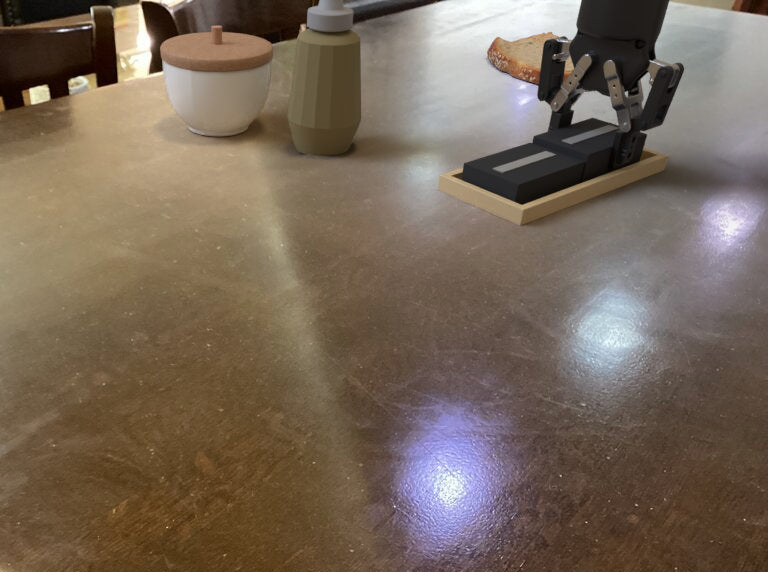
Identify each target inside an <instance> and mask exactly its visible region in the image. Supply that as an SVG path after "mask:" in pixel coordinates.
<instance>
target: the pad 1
mask: <svg viewBox="0 0 768 572" xmlns="http://www.w3.org/2000/svg"><path fill="white" fill-rule="evenodd" d="M584 164H585V161H582V160H579V159H576V158H573V157H570V156H568V155H565V154H562V153H559V152H556V151H553V150H550V149H547V148H545V147H542V146H539V145H536V144H533V143H532V142H527V143H525V144H524V143H523V144H521V145H518V146H515V147H512V148H507V149H505V150H502V151H501V150H500V151H499V152H495V153H492V154H488V155H485V156H482V157H479V158H476V159H473V160H470V161H466V162H463V167H462V168H463V172H462V178H461V180H462V181H465V182H467V183H470V184H472V185H475V186H477V187H479V188H482V189H484V190H487V191H489V192H492V193H494V194H496V195H499V196H501V197H504V198H506V199H509V200H511V201H513V202H516V203H518V204H521V205H523V204H526V203H529V202H532V201H534V200H537V199H540V198H542V197H545V196H548V195H551V194H553V193H556V192H559V191H561V190H564V189H567V188H569V187H572V186H575V185H578V184H579V183H580V179H581V175H582V171H583V168H584Z"/></svg>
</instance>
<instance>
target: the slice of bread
mask: <svg viewBox="0 0 768 572" xmlns="http://www.w3.org/2000/svg"><path fill="white" fill-rule="evenodd" d="M556 37H560V36H559V35H557V34H553V32H552V31H548V32H547V33H546V32H542V33H539V34H533V35H530V36H528V37H521V38H520V39H517V40H516V39H515V40H513V41H510V40H506V39H504V38H502V37H500V36H496V38H494V40H493V41H492V42H491V43H490V45H489V47H488V49H487V52H486V54H487V58H488V61H489V62H490V63H491V65H492V66H494V67H495V68H496V69H497V70H498V71H501V72H503V73H507V74H508V75H510V76H511V77H513V78H516V79H518V80H521V81H524V82H529V83H532V84H535V85H539V77H540V69H541V62H542V54H543V46H544V43H545V41H546V40H549V39H552V38H556ZM573 70H574V66H573V63H572V60H571V57H570V56H569V58H568V59H567V60H566V64H565V71H564V78H563V83H564V81H565V80H566V79H567V77H568V76H569V75H570V73H571V72H572V71H573Z"/></svg>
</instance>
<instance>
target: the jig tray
mask: <svg viewBox="0 0 768 572" xmlns="http://www.w3.org/2000/svg"><path fill="white" fill-rule="evenodd" d="M669 156H670V155H669V154H665V153H662V152H659V151H656V150H653V149H649V148H647V147H644V148H643V151H642V154H641V158H640V161H639V162H637V163H635V164H632V165H629V166H626V167H624V168H621V169H618V170H616V171H613V172H610V173H607V174H605V175H602V176H599V177H597V178H594V179H591V180H588V181H586V182H583V183H579V184H578V185H575V186H572V187H569V188H567V189H564V190H561V191H559V192H556V193H553V194H551V195H548V196H545V197H542V198H540V199H537V200H534V201H532V202H529V203H526V204H523V205H521V204H518V203H516V202H513V201H511V200H509V199H506V198H504V197H501V196H499V195H496V194H494V193H492V192H489V191H487V190H484V189H482V188H479V187H477V186H475V185H472V184H470V183H467V182H465V181H462V180H461V178H462V172H463V167H460V168H457V169H454V170H451V171H448V172H445V173H442V174H439V179H438V185H437V191H438V192H441V193H444V194H446V195H448V196H451V197H452V198H455V199H457V200H460V201H462V202H465V204H466V203H467V204H469V205H470V206H471V205H472V206H473V207H476V208H477V209H481V210H483V211H485V212H488V213H489V214H491V215H494V216H497V217H499V218H501V219H503V220H506V221H508V222H511V223H512V224H515V225H517V226H523V225H526V224H529V223H532V222H534V221H536V220H539V219H541V218H544V217H546V216H549V215H552V214H554V213H557V212H560V211H562V210H564V209H567V208H570V207H573V206H575V205H578V204H581V203H583V202H586V201H588V200H590V199H593V198H596V197H598V196H601V195H603V194H606V193H608V192H611V191H614V190H616V189H619V188H621V187H624V186H626V185H630V184H631V183H632V184H633V183H634V182H637V181H640V180H642V179H645V178H647V177H651V176H653V175H654V174H658V173H660V172H662V171H664V170H665V169H666V166H667V162H668V159H669Z"/></svg>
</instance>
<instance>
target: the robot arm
mask: <svg viewBox="0 0 768 572" xmlns="http://www.w3.org/2000/svg"><path fill="white" fill-rule="evenodd" d="M669 5H670V0H581V1H580V5H579V10H578V13H577V18H576V23H575V25H576V29H577V30H576V34H575V35H574V37H573V39H569V38H568V37H567V36H566V35H565V36H563V35H562V36H559V37H556V38H552V39H549V40H546V41H545V43H544V46H543V54H542V62H541V69H540V77H539V84H537V85H538V87H537V94H536V96H537V99H538V100H539V101H540V102H545V103H546V104H547V105H549V107H550V109H551V115H550V119H549V124H548V127H547V132H548V131H552V130H555V129H558V128H561V127H564V126H568V125H571V124H572V121H573V117H574V113H575V110H574V109H572V107H574V106H575V104H576V103H577V101H578V100H579V99H580V98H581V96H582V95H583V94H584V93H585V92H597V93H599V94H600V95H602V96H605V97H609V99H610V103H611V108H612V109H613V110H614V111H615V113H616V118H617V125H619V129H620V130H618V131H616V134H615V138H614V142H613V145H612V146H613V148H612V152H611V156H610V159H609V163H608V167H610V168H613V169H617V168H619V167H622V166H624V165H625V163H627V162H629V161H630V160H631V158H632V157H633V153H634V150H635V146H636V143H637V139H638V136H639V133H640V132H646V131H649V130H652V129H655V128H658V127H661V126H662V125H663V124H664V122H665V119H666V117H667V114H668V113H669V110H670V107H671V105H672V102H673V99H674V98H675V97H674V96H675V94H676V93H677V89H678V87H679V84H680V82H681V79H682V77H683V75H684V72H685V67H684V64H683V63H682V62H675V63H672V64H671V63H668V62H666V61H664V60H660V59H657V55H656V43H657V41H658V39H659V36H660V34H661V31H662V28H663V24H664V22H665V17H666V14H667V10H668V7H669ZM569 56H570V57H571V60H572V63H573V66H574V70H573V71H572V72H571V73H570V75H569V76H568V77H567V79H566V80H565V81H564V83H563V78H564V71H565V64H566V60H567V59H568V58H569ZM648 73H649V80H648V84H649V85H650V86H651V88H650V90H649V93H648V95H647V98H646V100H645V103H644V105H643V102H644V99H645V97H644V89H643V84H642V79H643V78H644V77H645V76H646V75H647V74H648ZM626 93H627V95H626Z"/></svg>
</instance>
